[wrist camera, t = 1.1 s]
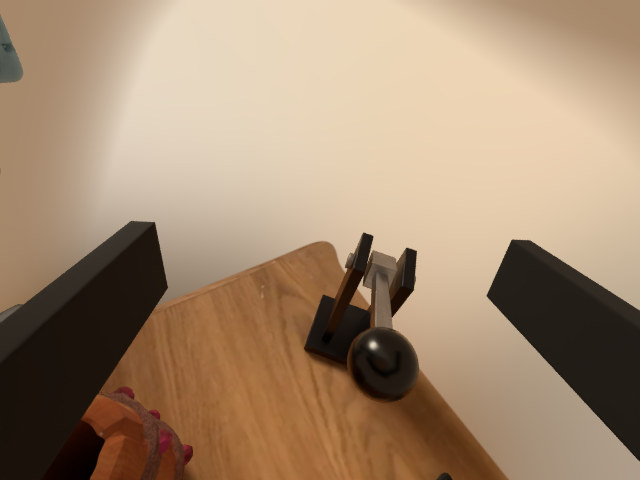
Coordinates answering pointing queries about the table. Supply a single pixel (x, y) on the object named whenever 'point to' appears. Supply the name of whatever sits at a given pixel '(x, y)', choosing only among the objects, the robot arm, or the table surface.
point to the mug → (120, 444)
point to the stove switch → (347, 320)
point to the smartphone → (445, 477)
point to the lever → (382, 342)
